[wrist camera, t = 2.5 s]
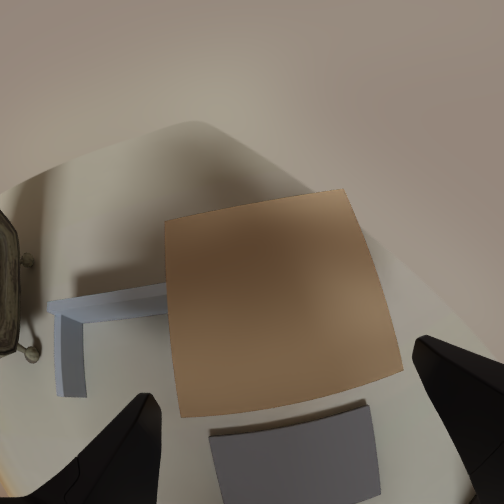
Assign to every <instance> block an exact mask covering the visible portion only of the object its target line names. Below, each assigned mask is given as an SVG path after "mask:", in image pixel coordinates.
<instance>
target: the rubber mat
mask: <svg viewBox="0 0 504 504" xmlns="http://www.w3.org/2000/svg"><path fill="white" fill-rule="evenodd" d="M209 442H210V446H211V451H212V456H213V460H214V465H215V469H216V473H217V478H218V482H219V486H220V490H221V494H222V498H223V501H224V504H355V503H358V502H361V501H364V500H367V499H370V498H373V497H375V496H378V495H380V494H381V488H380V477H379V468H378V459H377V452H376V444H375V437H374V431H373V424H372V418H371V413H370V407H369V405H365V406H362V407H359V408H355V409H352V410H349V411H346V412H342V413H339V414H336V415H332V416H328V417H325V418H321V419H317V420H313V421H308V422H304V423H299V424H295V425H290V426H285V427H279V428H274V429H268V430H261V431H255V432H247V433H239V434H229V435H217V436H210V437H209Z"/></svg>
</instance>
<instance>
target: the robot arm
mask: <svg viewBox="0 0 504 504" xmlns="http://www.w3.org/2000/svg"><path fill="white" fill-rule="evenodd" d="M412 360H413V363H414V365H415V368H416V370H417V372H418V374H419V376H420V379H421V381H422V383H423V386H424V388H425V390H426V392H427V394H428V396H429V398H430V400H431V402H432V403H433V405H434V407H435V409H436V411H437V412H438V414H439V416H440V418H441V420H442V422H443V424H444V425H445V427H446V429H447V431H448V433H449V435H450V437H451V439H452V441H453V443H454V445H455V447H456V449H457V451H458V453H459V455H460V457H461V459H462V462H463V464H464V466H465V468H466V470H467V472H468V475H469V477H470V480H471V482H472V484H473V487H474V489H475V492H476V494H477V497H478V499H479V502H480V504H501V503H502V502H504V364H502V363H499V362H497V361H494V360H491V359H489V358H486V357H483V356H481V355H478V354H475V353H473V352H470V351H468V350H465V349H462V348H460V347H457V346H454V345H452V344H449V343H447V342H444V341H442V340H439V339H436V338H434V337H431V336H429V335H424V336H421V337H419V338H417V339H416V341H415V345H414V349H413V354H412ZM161 426H162V412H161V408H160V406H159V405H158V403H157V402H156V400H155V398H154V397H153V395H152V394H151V393H139V394H138V395H137V396H136V397H135V398H134V399H133V400H132V401H131V402H130V403H129V404H128V405H127V406H126V407H125V408H124V409H123V410H122V411H121V412H120V413H119V414H118V415H117V416H116V417H115V418H114V419H113V420H112V421H111V422H110V423H109V424H108V425H107V426H106V427H105V428H104V429H103V430H102V431H101V432H100V433H99V434H98V435H97V436H96V437H95V438H94V439H93V440H92V441H91V442H90V443H89V444H88V445H87V446H86V447H85V448H84V449H83V450H82V451H81V452H80V453H79V454H78V457H75V458H74V459H73V460H72V461H71V462H70V463H69V464H68V465H67V466H66V467H65V468H64V469H63V470H61V471H60V472H59V473H58V474H57V475H55V476H54V477H53V478H52V479H50V480H49V481H48V482H46V483H45V484H44V485H42V486H41V487H40V488H38V489H37V490H36V491H34V492H33V493H31V494H29V495H27V496H24V497H0V504H156V502H157V490H158V479H159V468H160V459H161Z"/></svg>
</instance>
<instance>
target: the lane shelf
mask: <svg viewBox="0 0 504 504" xmlns="http://www.w3.org/2000/svg"><path fill="white" fill-rule="evenodd" d="M47 312H49V313H51V314H53V315H55V321H54V361H55V379H56V391H57V396H61V397H85V398H87V396H86V386H85V375H84V360H83V323H92V322H102V321H111V320H120V319H128V318H136V317H144V316H151V315H159V314H166V313H168V306H167V289H166V282H165V283H159V284H153V285H147V286H142V287H136V288H130V289H124V290H118V291H112V292H106V293H100V294H94V295H87V296H81V297H75V298H69V299H62V300H56V301H49V302H47Z"/></svg>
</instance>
